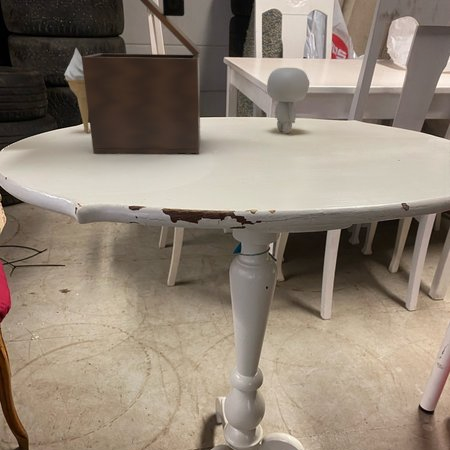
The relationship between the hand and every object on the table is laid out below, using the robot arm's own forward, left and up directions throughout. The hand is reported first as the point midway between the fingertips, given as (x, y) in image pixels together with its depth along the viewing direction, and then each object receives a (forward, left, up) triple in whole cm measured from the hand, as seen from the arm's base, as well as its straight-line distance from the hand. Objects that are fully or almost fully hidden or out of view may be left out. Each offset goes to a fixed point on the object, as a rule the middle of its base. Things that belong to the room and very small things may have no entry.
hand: (174, 15), depth 74 cm
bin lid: (-3, 0, +1) cm, 3 cm away
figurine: (+21, +14, -20) cm, 32 cm away
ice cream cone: (-19, +12, -20) cm, 30 cm away
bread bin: (-5, 0, -20) cm, 21 cm away
